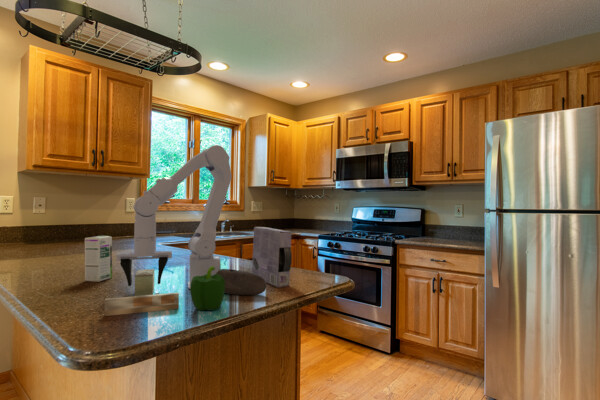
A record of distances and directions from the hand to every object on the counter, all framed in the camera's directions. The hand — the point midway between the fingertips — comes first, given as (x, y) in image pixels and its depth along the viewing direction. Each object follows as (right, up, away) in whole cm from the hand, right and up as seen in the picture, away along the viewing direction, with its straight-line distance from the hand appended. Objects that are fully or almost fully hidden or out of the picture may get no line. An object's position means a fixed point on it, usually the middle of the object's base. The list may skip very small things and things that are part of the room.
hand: (144, 284), depth 97 cm
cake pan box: (+35, -3, +14) cm, 38 cm away
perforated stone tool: (+28, -3, -1) cm, 28 cm away
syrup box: (-23, -3, +16) cm, 28 cm away
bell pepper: (+22, -3, -14) cm, 27 cm away
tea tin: (0, -3, 0) cm, 3 cm away
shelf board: (+6, -2, -12) cm, 14 cm away
